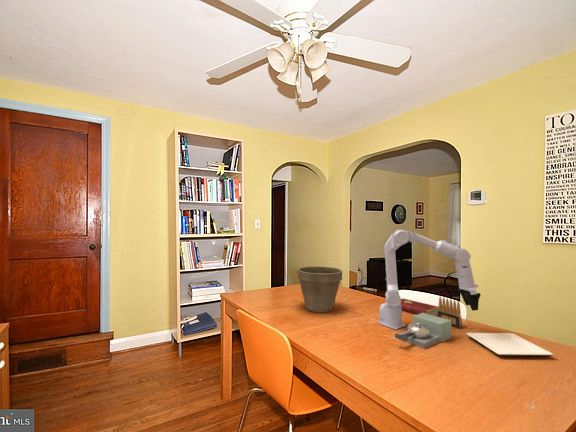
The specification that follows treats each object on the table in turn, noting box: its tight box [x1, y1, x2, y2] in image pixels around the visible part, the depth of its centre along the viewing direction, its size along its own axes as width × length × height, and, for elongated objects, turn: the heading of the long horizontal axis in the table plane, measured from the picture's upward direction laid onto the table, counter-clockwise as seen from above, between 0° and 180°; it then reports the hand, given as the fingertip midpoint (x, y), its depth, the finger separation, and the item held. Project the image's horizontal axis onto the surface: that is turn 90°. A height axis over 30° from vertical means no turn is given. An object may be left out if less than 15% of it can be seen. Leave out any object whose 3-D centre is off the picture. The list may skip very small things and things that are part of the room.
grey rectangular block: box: [398, 313, 453, 350], centre depth 114 cm, size 12×19×7 cm, turn 124°
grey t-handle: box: [394, 322, 430, 342], centre depth 109 cm, size 16×8×4 cm, turn 124°
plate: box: [466, 332, 555, 357], centre depth 105 cm, size 19×19×2 cm
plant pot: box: [296, 266, 343, 313], centre depth 155 cm, size 25×25×22 cm
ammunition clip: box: [437, 295, 463, 330], centre depth 129 cm, size 11×2×12 cm, turn 25°
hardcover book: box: [401, 297, 439, 316], centre depth 150 cm, size 12×21×4 cm, turn 35°
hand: (471, 307), depth 120 cm, fingers open, 7 cm apart
